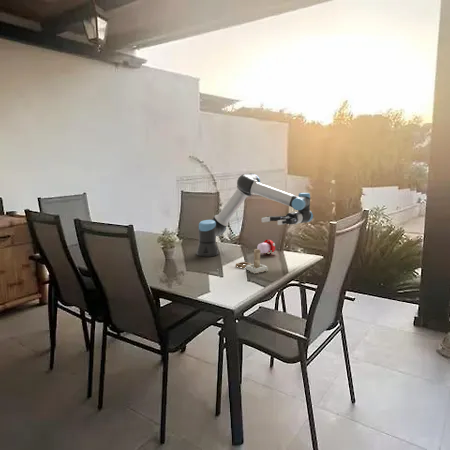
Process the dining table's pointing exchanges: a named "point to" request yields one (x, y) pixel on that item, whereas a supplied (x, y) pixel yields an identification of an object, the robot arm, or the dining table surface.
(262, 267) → the tray
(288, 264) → the dining table surface
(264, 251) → the mushroom
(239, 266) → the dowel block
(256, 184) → the robot arm
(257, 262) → the dowel
